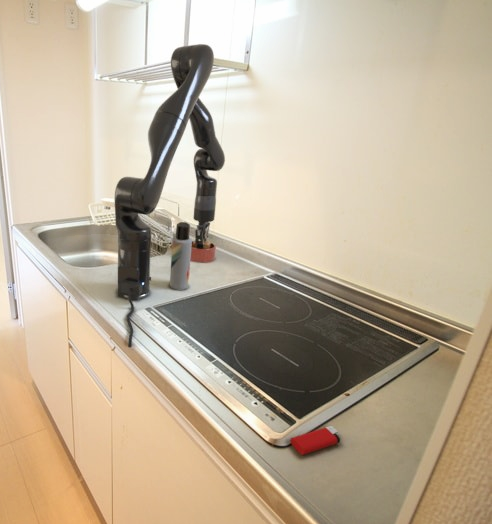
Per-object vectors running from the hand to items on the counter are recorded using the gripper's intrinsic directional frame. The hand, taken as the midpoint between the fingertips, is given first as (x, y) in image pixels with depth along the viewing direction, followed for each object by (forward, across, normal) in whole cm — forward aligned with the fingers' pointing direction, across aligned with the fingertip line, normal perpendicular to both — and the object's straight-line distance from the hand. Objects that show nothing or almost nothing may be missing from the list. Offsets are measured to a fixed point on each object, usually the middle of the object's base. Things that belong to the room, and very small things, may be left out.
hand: (200, 251), depth 136 cm
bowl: (+2, 0, 0) cm, 2 cm away
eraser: (0, 0, 0) cm, 0 cm away
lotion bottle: (+2, +29, 0) cm, 29 cm away
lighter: (+2, +77, +36) cm, 86 cm away
